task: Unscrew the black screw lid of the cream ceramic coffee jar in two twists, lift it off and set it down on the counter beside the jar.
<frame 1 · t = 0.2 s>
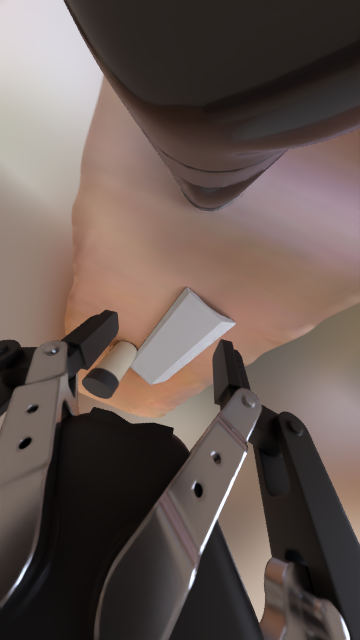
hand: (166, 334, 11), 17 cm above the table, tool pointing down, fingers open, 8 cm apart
crown molding: (173, 344, 36), on the table, touching coffee jar
jar lid: (98, 387, 30), point 12 cm above the table, screwed on, not yet turned
coffee jar: (126, 350, 39), on the table, touching crown molding
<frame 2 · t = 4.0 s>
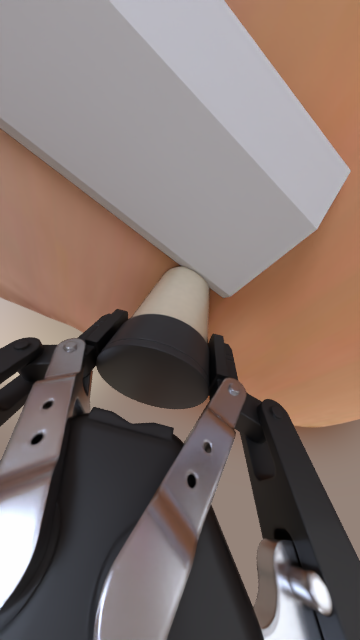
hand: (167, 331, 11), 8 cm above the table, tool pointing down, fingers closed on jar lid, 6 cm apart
crown molding: (141, 129, 11), on the table, touching coffee jar
jar lid: (153, 377, 9), point 12 cm above the table, screwed on, not yet turned, touching gripper
coffee jar: (183, 292, 17), on the table, touching crown molding
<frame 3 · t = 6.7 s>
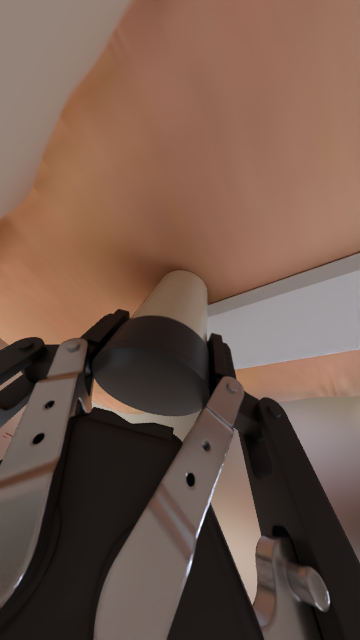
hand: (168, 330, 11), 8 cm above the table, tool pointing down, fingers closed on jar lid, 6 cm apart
crown molding: (283, 324, 18), on the table, touching coffee jar
jar lid: (151, 382, 8), point 12 cm above the table, turned 119° so far, risen 0.1 cm, still on its thread, touching gripper
coffee jar: (181, 296, 17), point 1 cm above the table, touching crown molding, gripper
when the fingers open (8 cm above the table, at t = 7.1 s): jar lid moves 1 cm, point 12 cm above the table.
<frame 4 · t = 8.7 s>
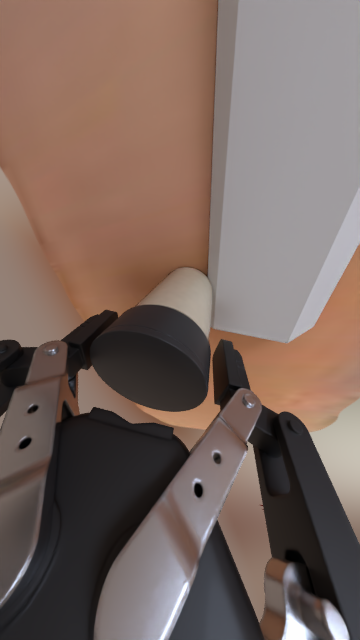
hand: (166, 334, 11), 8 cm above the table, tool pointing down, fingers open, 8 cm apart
crown molding: (297, 163, 11), on the table, touching coffee jar
jar lid: (148, 373, 8), point 12 cm above the table, turned 120° so far, risen 0.1 cm, still on its thread
coffee jar: (186, 294, 17), on the table, touching crown molding
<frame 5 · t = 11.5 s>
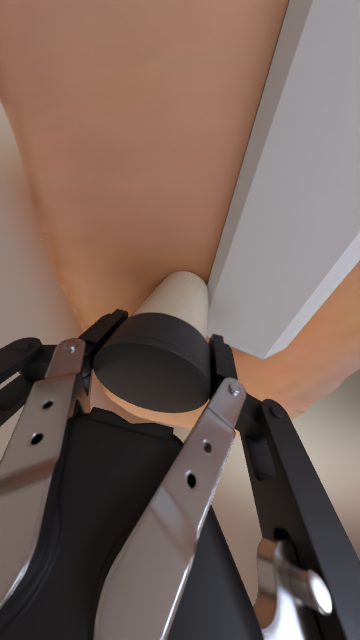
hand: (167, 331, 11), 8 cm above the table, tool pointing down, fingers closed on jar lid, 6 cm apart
crown molding: (307, 207, 12), on the table, touching coffee jar
jar lid: (152, 379, 8), point 12 cm above the table, off its thread, touching gripper
coffee jar: (183, 297, 18), on the table, touching crown molding, gripper
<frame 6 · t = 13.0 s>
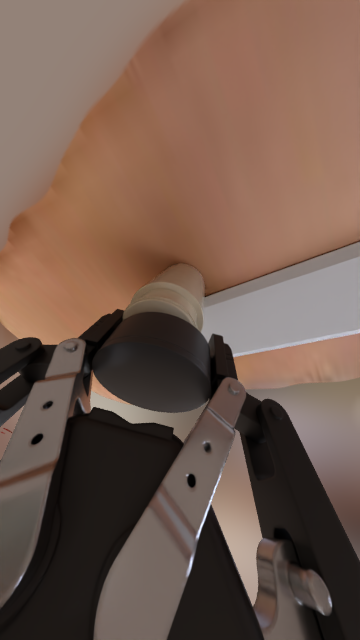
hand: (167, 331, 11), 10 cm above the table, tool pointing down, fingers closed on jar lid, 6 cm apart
crown molding: (272, 314, 20), on the table, touching coffee jar
jar lid: (152, 379, 8), point 14 cm above the table, off its thread, touching gripper
coffee jar: (181, 287, 20), on the table, touching crown molding
when the fingers open (0 cm above the table, at t = 21.3 s): jar lid drops 1 cm, point 2 cm above the table.
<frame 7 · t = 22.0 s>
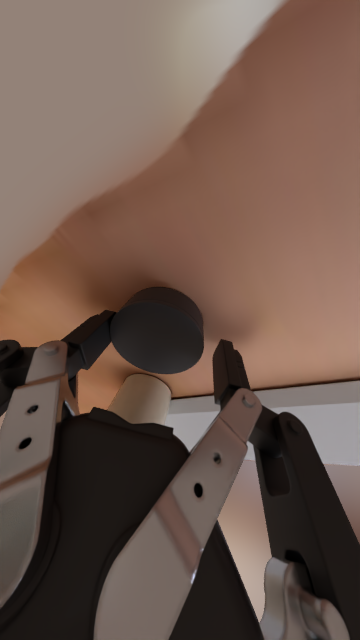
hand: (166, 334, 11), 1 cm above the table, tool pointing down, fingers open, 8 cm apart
crown molding: (246, 416, 19), on the table, touching coffee jar
jar lid: (157, 341, 10), point 2 cm above the table, off its thread, touching gripper
coffee jar: (147, 390, 18), on the table, touching crown molding
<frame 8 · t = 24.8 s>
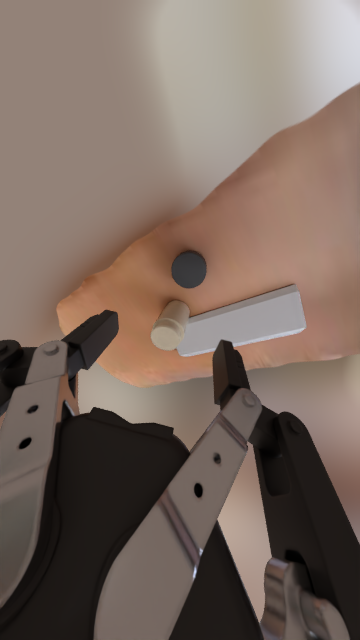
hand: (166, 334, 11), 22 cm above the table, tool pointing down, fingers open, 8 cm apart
crown molding: (228, 327, 36), on the table, touching coffee jar
jar lid: (188, 271, 28), point 2 cm above the table, off its thread
coffee jar: (177, 312, 35), on the table, touching crown molding
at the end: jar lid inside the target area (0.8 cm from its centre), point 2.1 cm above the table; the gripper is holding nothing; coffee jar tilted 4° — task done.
